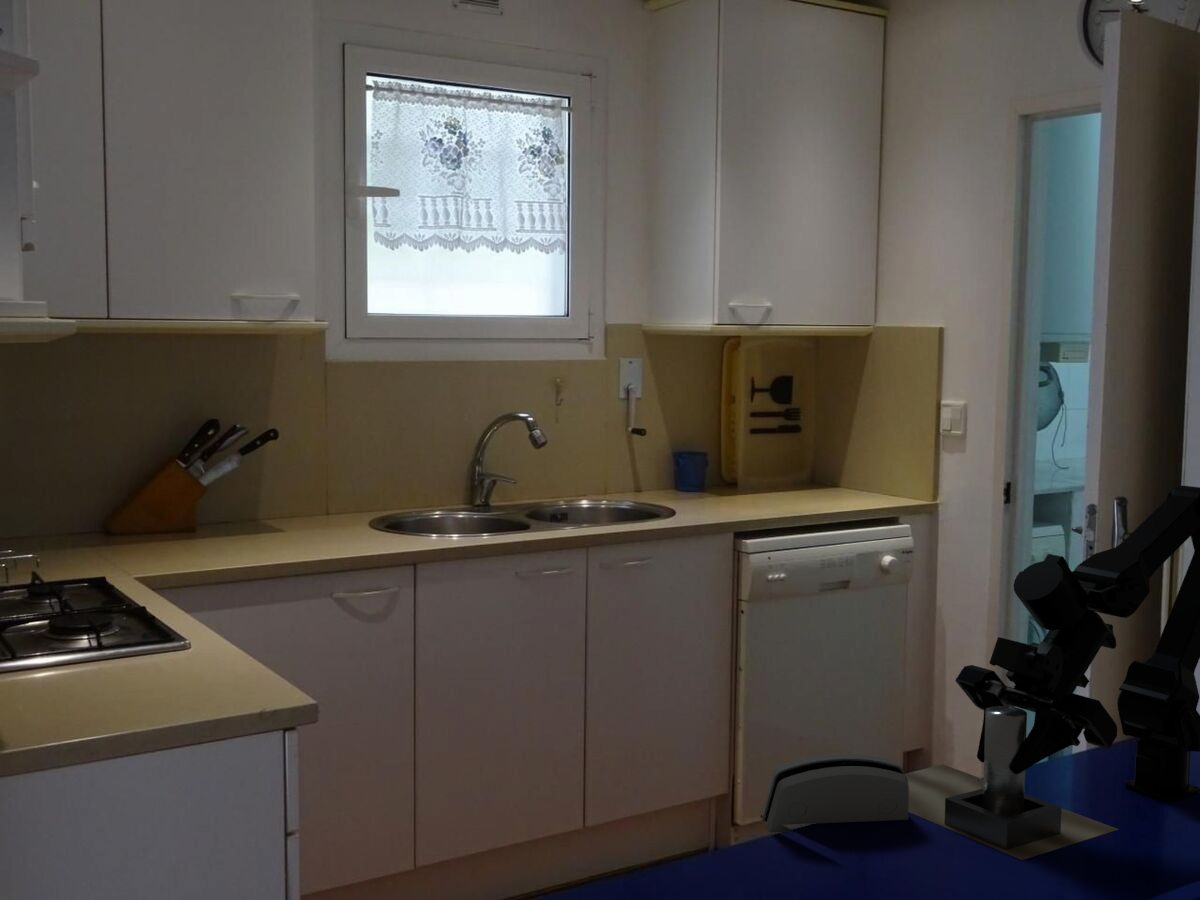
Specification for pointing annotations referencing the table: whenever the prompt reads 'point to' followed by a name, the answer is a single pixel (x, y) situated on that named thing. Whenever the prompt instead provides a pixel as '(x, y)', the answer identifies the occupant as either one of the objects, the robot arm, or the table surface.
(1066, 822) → the board
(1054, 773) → the table surface
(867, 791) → the grey arched block
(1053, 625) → the robot arm
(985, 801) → the pin
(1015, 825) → the knuckle socket
